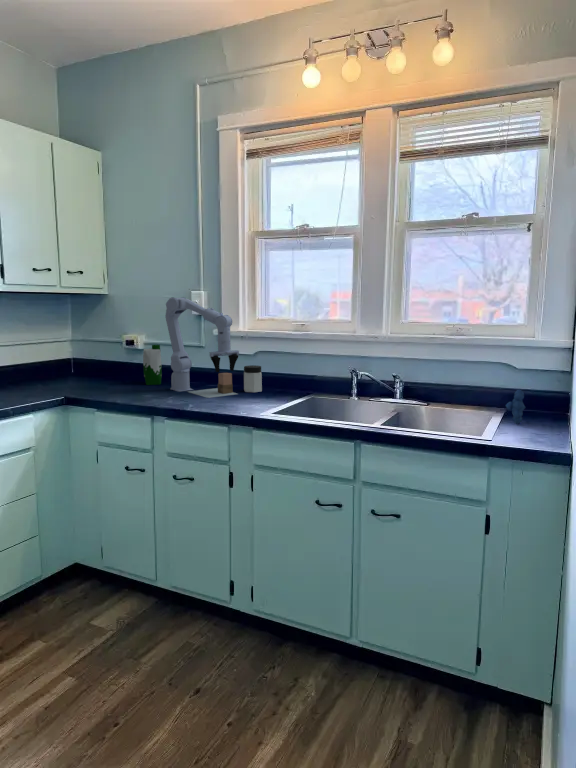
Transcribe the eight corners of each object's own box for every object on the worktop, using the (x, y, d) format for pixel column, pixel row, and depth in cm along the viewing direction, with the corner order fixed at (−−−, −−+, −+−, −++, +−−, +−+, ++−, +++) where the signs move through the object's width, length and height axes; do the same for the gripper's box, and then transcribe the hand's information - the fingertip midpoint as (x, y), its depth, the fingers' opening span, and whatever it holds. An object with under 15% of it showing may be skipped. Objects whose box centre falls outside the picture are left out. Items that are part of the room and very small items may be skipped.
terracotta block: (218, 383, 250) (218, 373, 249) (227, 382, 253) (226, 372, 252) (223, 385, 247) (223, 374, 246) (232, 384, 249) (231, 373, 248)
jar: (243, 390, 259) (242, 365, 257) (259, 389, 261) (259, 365, 259) (245, 393, 250) (245, 367, 248) (262, 392, 252) (262, 367, 250)
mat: (187, 392, 253) (187, 391, 253) (216, 388, 262) (216, 388, 262) (208, 398, 237) (208, 397, 237) (238, 394, 247) (238, 393, 247)
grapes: (504, 418, 199) (506, 386, 197) (524, 420, 196) (527, 387, 194) (503, 425, 188) (505, 391, 186) (524, 427, 185) (526, 392, 183)
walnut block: (217, 392, 251) (217, 383, 250) (227, 391, 254) (226, 382, 253) (223, 393, 247) (223, 385, 246) (232, 392, 250) (232, 384, 249)
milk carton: (162, 384, 275) (161, 345, 272) (144, 385, 273) (142, 346, 270) (161, 382, 284) (159, 344, 281) (143, 382, 281) (142, 344, 278)
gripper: (214, 343, 239) (215, 373, 241) (242, 341, 248) (242, 370, 250) (206, 342, 245) (207, 371, 247) (234, 340, 254) (234, 369, 256)
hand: (224, 371), depth 249 cm, fingers open, 7 cm apart
